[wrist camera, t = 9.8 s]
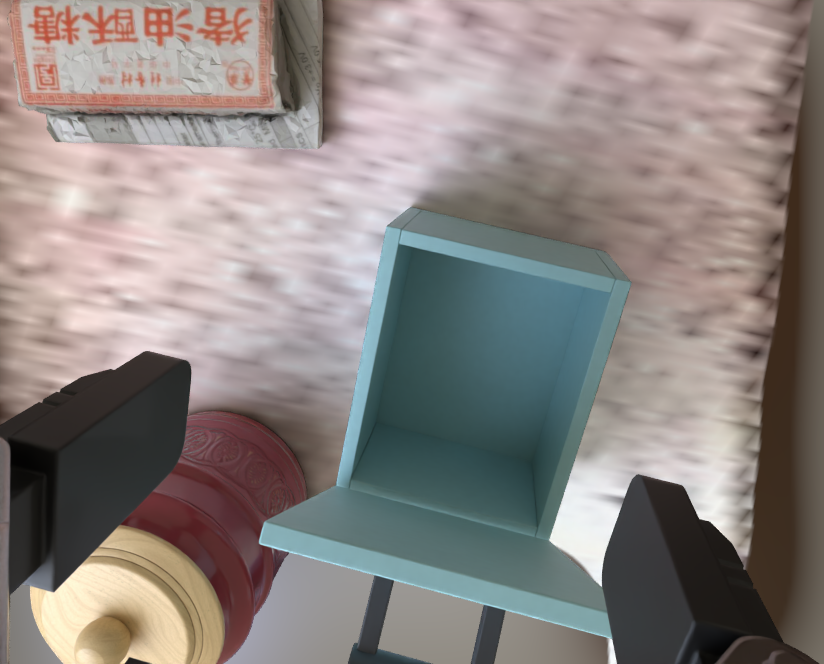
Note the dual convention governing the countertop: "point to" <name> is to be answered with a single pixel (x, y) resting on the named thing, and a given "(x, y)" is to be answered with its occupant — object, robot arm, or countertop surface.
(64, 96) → the packaged product
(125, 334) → the countertop surface
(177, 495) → the kitchen canister
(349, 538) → the freezer lid
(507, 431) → the box
